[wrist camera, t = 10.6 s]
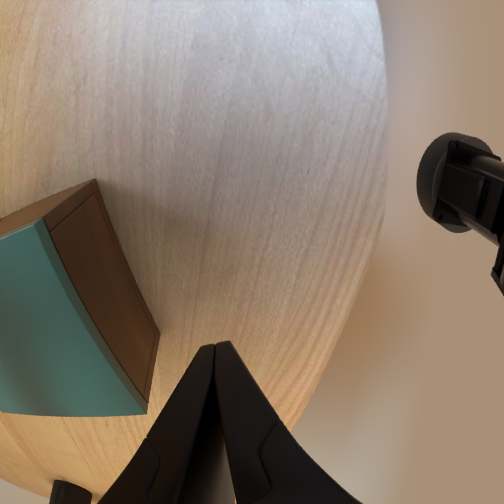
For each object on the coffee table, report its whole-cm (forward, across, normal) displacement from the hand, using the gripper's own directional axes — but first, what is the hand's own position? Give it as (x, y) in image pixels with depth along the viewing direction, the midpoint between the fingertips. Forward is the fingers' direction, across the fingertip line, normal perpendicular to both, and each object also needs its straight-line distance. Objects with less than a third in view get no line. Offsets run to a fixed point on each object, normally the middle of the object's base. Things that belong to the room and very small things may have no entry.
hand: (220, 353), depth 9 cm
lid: (+5, +14, +2) cm, 15 cm away
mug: (+12, +44, +44) cm, 63 cm away
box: (+12, +14, +2) cm, 18 cm away
